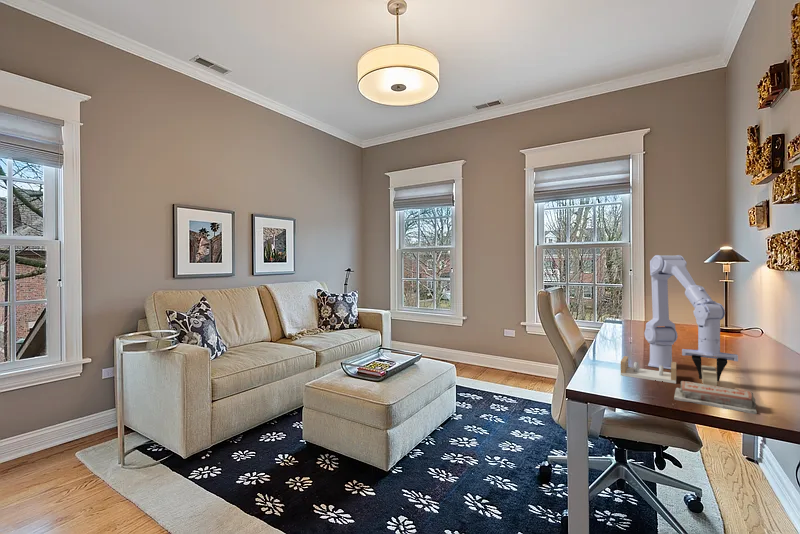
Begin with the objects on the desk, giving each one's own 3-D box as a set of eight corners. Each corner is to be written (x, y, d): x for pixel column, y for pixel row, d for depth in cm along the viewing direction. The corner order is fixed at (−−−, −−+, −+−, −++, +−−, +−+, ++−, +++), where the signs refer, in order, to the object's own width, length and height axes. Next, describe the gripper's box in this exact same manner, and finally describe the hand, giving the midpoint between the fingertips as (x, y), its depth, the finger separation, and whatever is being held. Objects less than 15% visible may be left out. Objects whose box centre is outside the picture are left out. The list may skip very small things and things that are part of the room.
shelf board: (701, 379, 133) (701, 365, 133) (714, 381, 131) (714, 366, 131) (703, 387, 124) (703, 372, 124) (717, 389, 122) (717, 373, 122)
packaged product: (753, 388, 108) (757, 398, 100) (753, 405, 108) (757, 416, 100) (675, 377, 119) (673, 384, 112) (675, 392, 119) (673, 401, 112)
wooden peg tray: (624, 368, 146) (624, 355, 146) (676, 376, 136) (676, 362, 136) (620, 375, 137) (620, 361, 137) (676, 383, 127) (676, 368, 127)
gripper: (682, 338, 128) (682, 378, 128) (739, 343, 120) (739, 386, 120) (682, 335, 134) (682, 373, 134) (736, 340, 125) (736, 381, 125)
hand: (709, 379), depth 127 cm, fingers open, 4 cm apart
